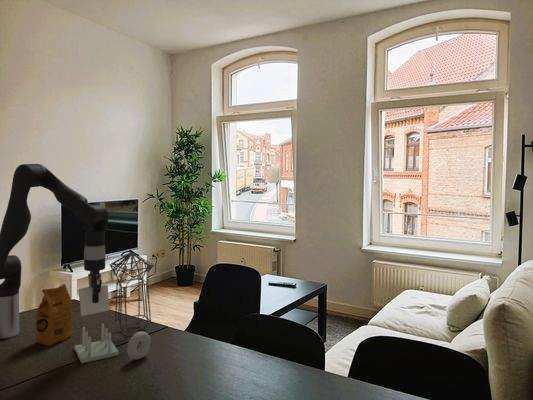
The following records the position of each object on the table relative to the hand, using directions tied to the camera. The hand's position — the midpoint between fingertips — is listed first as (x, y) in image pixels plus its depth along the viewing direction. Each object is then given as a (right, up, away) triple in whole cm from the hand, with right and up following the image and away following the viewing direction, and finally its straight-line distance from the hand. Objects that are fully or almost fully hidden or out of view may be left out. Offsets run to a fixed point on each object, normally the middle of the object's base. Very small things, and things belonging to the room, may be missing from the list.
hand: (94, 301), depth 155 cm
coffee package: (-21, -18, +10) cm, 30 cm away
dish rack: (+1, -19, -2) cm, 19 cm away
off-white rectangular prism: (0, -4, 0) cm, 4 cm away
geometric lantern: (+8, -18, +19) cm, 28 cm away
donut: (+19, -20, -7) cm, 28 cm away
